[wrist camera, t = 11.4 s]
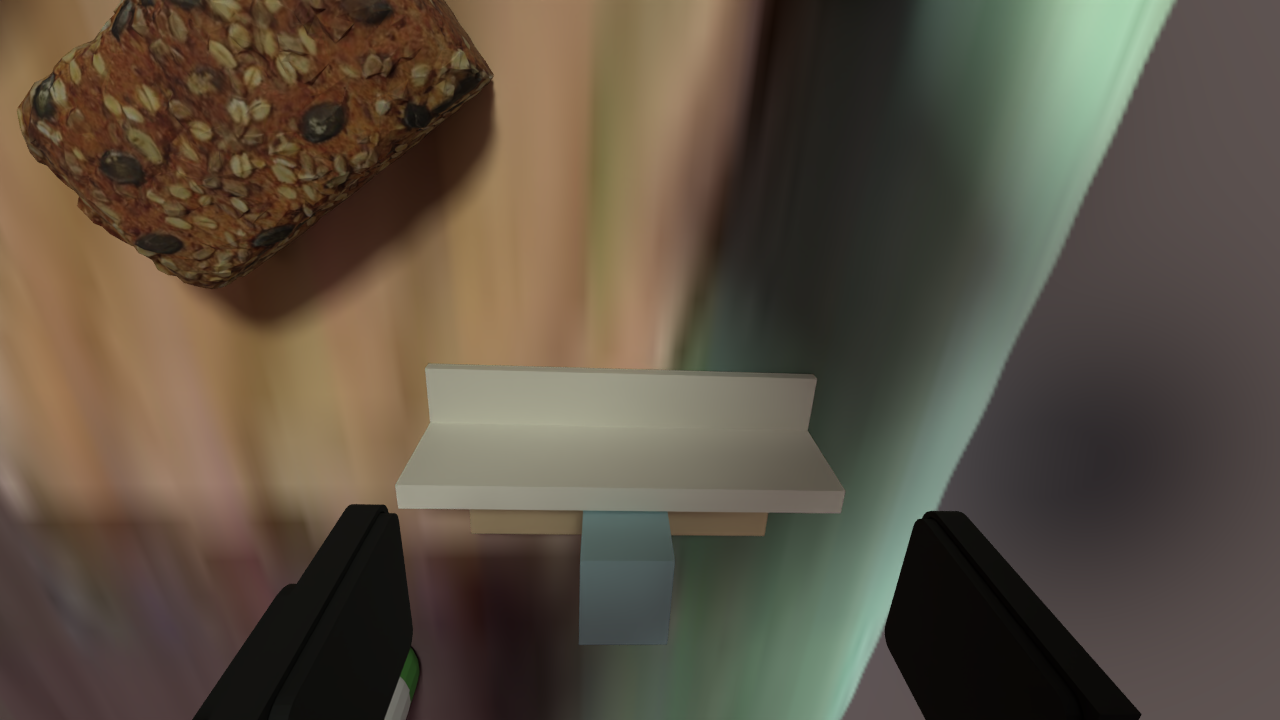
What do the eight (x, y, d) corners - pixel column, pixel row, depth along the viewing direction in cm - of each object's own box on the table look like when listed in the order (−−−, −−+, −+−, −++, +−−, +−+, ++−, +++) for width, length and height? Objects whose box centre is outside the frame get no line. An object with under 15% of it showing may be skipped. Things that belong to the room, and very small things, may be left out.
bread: (379, -109, 30) (277, -207, 20) (513, 88, 33) (477, 80, 24) (123, 114, 33) (-66, 116, 24) (271, 271, 36) (158, 325, 27)
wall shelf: (428, 363, 39) (387, 422, 32) (813, 374, 41) (858, 432, 34) (440, 497, 43) (407, 576, 36) (790, 501, 45) (826, 577, 38)
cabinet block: (585, 474, 38) (580, 560, 31) (662, 475, 39) (674, 560, 31) (583, 561, 41) (578, 660, 34) (655, 562, 42) (665, 659, 34)
